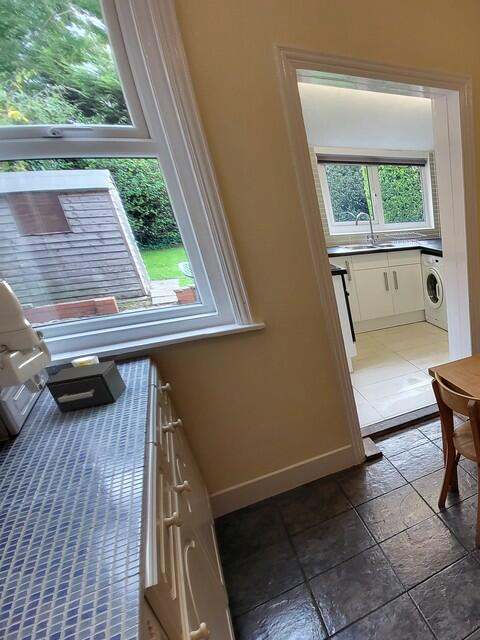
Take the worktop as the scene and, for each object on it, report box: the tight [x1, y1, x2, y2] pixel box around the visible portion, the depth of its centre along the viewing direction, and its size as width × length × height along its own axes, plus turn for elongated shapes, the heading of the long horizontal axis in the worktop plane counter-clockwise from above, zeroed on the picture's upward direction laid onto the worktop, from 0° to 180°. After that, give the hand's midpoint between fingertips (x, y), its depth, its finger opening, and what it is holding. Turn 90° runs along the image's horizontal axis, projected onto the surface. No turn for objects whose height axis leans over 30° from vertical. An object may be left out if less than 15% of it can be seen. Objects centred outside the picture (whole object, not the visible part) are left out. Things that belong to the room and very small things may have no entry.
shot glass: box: [70, 355, 100, 367], centre depth 148 cm, size 7×7×7 cm
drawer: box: [47, 376, 112, 412], centre depth 126 cm, size 17×11×8 cm
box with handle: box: [44, 360, 127, 413], centre depth 129 cm, size 14×13×10 cm
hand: (37, 390), depth 109 cm, fingers closed
